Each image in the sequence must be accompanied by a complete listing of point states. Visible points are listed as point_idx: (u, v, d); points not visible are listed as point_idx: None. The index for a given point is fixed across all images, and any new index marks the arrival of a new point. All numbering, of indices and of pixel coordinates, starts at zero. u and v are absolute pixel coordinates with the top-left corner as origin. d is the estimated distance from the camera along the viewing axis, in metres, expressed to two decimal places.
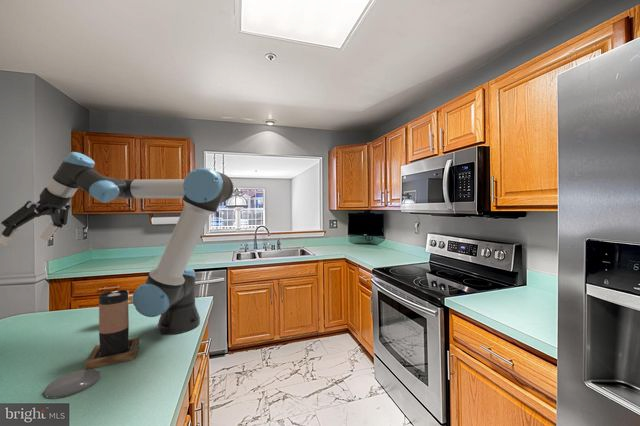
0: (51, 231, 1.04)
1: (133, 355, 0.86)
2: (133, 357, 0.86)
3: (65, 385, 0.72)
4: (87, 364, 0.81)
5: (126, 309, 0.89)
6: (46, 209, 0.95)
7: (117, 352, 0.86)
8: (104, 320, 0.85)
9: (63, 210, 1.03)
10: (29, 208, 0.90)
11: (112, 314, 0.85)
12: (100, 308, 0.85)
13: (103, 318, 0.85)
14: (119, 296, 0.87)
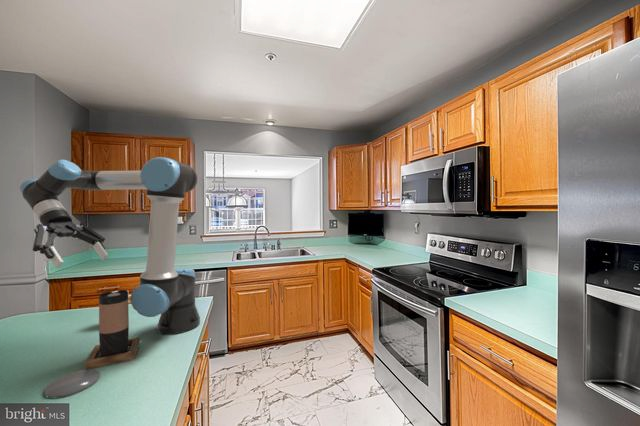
0: (99, 247, 0.99)
1: (133, 355, 0.86)
2: (133, 357, 0.86)
3: (65, 385, 0.72)
4: (87, 364, 0.81)
5: (126, 309, 0.89)
6: (57, 226, 0.93)
7: (117, 352, 0.86)
8: (104, 320, 0.85)
9: (84, 229, 1.00)
10: (38, 228, 0.88)
11: (112, 314, 0.85)
12: (100, 308, 0.85)
13: (103, 318, 0.85)
14: (119, 296, 0.87)
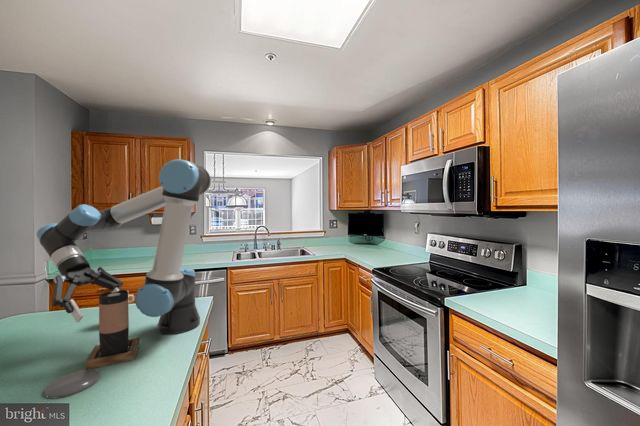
0: None
1: (133, 355, 0.86)
2: (133, 357, 0.86)
3: (65, 385, 0.72)
4: (87, 364, 0.81)
5: (126, 309, 0.89)
6: (76, 274, 0.90)
7: (117, 352, 0.86)
8: (104, 320, 0.85)
9: (102, 274, 0.97)
10: (57, 280, 0.85)
11: (112, 314, 0.85)
12: (100, 308, 0.85)
13: (103, 318, 0.85)
14: (119, 296, 0.87)
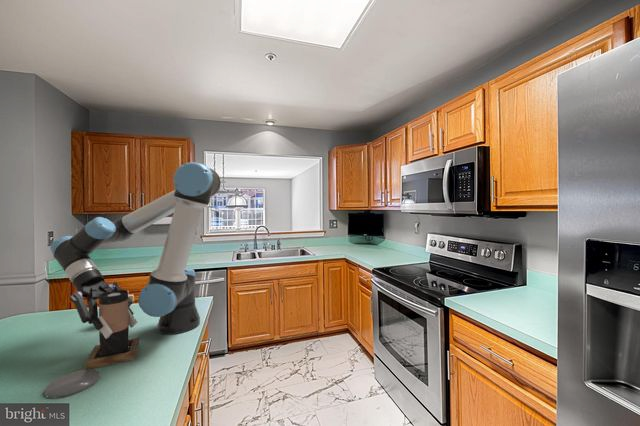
0: None
1: (133, 355, 0.86)
2: (133, 357, 0.86)
3: (65, 385, 0.72)
4: (87, 364, 0.81)
5: (126, 309, 0.89)
6: (91, 289, 0.89)
7: (117, 352, 0.86)
8: None
9: (115, 289, 0.95)
10: (76, 298, 0.84)
11: (112, 314, 0.85)
12: (100, 308, 0.85)
13: (103, 318, 0.85)
14: (119, 296, 0.87)
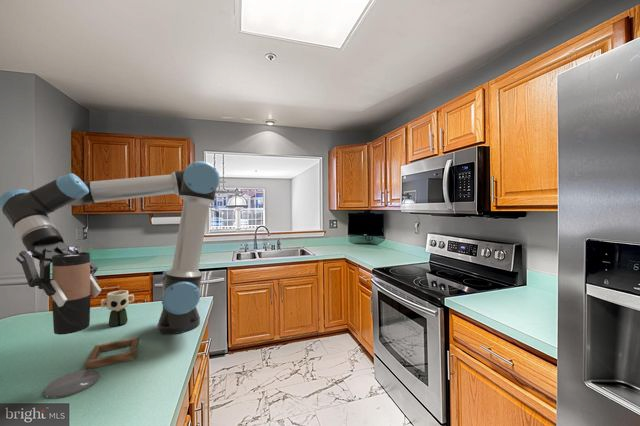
0: (90, 280, 0.77)
1: (133, 355, 0.86)
2: (133, 357, 0.86)
3: (65, 385, 0.72)
4: (87, 364, 0.81)
5: (87, 274, 0.74)
6: (45, 250, 0.74)
7: (74, 324, 0.71)
8: (58, 284, 0.70)
9: (77, 253, 0.81)
10: (23, 257, 0.69)
11: (68, 277, 0.70)
12: (53, 270, 0.70)
13: None
14: (77, 257, 0.72)
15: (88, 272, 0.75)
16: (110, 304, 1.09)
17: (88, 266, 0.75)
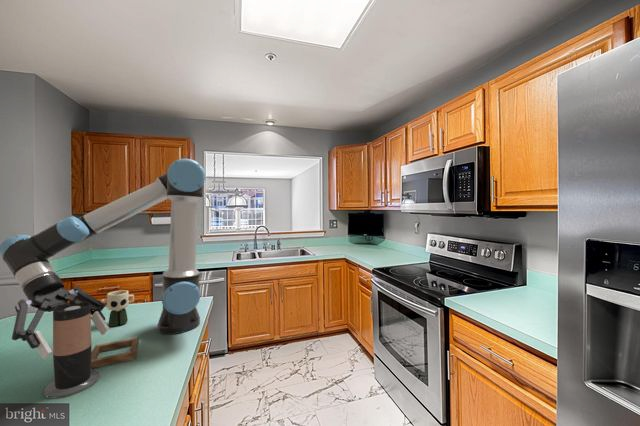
0: (98, 318, 0.80)
1: (133, 355, 0.86)
2: (133, 357, 0.86)
3: None
4: None
5: (87, 326, 0.74)
6: (45, 298, 0.74)
7: (75, 378, 0.72)
8: (59, 339, 0.70)
9: (79, 295, 0.81)
10: (20, 306, 0.69)
11: (69, 332, 0.71)
12: (53, 325, 0.71)
13: (57, 338, 0.70)
14: (77, 310, 0.72)
15: (89, 323, 0.75)
16: (110, 304, 1.09)
17: (89, 317, 0.75)
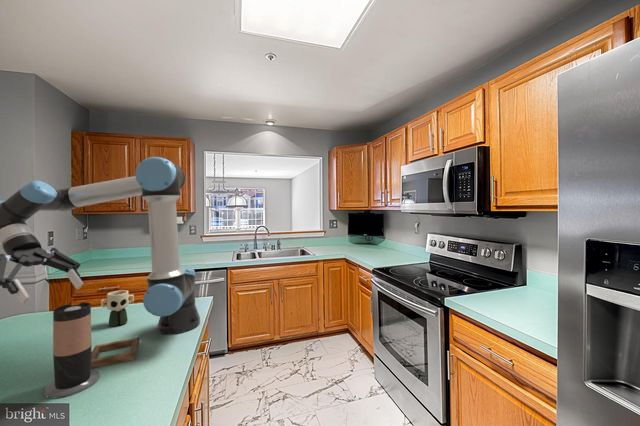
0: (73, 275, 0.89)
1: (133, 355, 0.86)
2: (133, 357, 0.86)
3: None
4: None
5: (88, 326, 0.74)
6: (23, 254, 0.82)
7: (75, 378, 0.72)
8: (59, 340, 0.70)
9: (55, 255, 0.90)
10: None
11: (69, 332, 0.71)
12: (54, 325, 0.71)
13: (57, 338, 0.70)
14: (78, 311, 0.72)
15: (89, 324, 0.75)
16: (110, 304, 1.09)
17: (89, 318, 0.75)
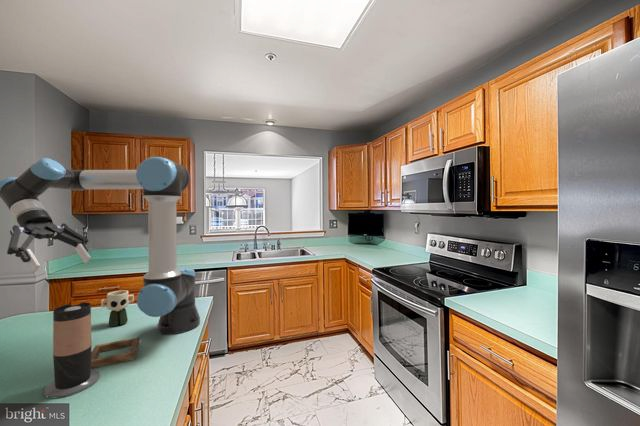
0: (81, 249, 0.94)
1: (133, 355, 0.86)
2: (133, 357, 0.86)
3: None
4: None
5: (88, 326, 0.74)
6: (35, 227, 0.87)
7: (75, 378, 0.72)
8: (59, 340, 0.70)
9: (65, 230, 0.95)
10: (14, 230, 0.83)
11: (69, 332, 0.71)
12: (54, 325, 0.71)
13: (57, 338, 0.70)
14: (78, 311, 0.72)
15: (89, 324, 0.75)
16: (110, 304, 1.09)
17: (89, 318, 0.75)
